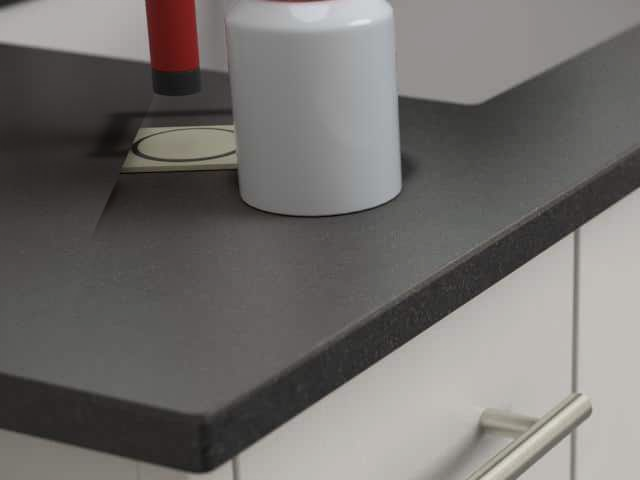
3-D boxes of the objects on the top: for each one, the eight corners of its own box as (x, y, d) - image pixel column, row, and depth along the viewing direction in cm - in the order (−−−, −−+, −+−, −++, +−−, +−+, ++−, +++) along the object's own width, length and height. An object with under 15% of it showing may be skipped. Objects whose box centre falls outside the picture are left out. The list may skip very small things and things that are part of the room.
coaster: (103, 173, 81) (102, 166, 81) (122, 134, 87) (121, 127, 87) (265, 168, 82) (264, 160, 82) (272, 129, 88) (272, 122, 88)
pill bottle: (221, 178, 80) (198, -55, 75) (370, 158, 83) (358, -69, 78) (265, 226, 74) (244, -25, 69) (425, 202, 77) (416, -42, 71)
